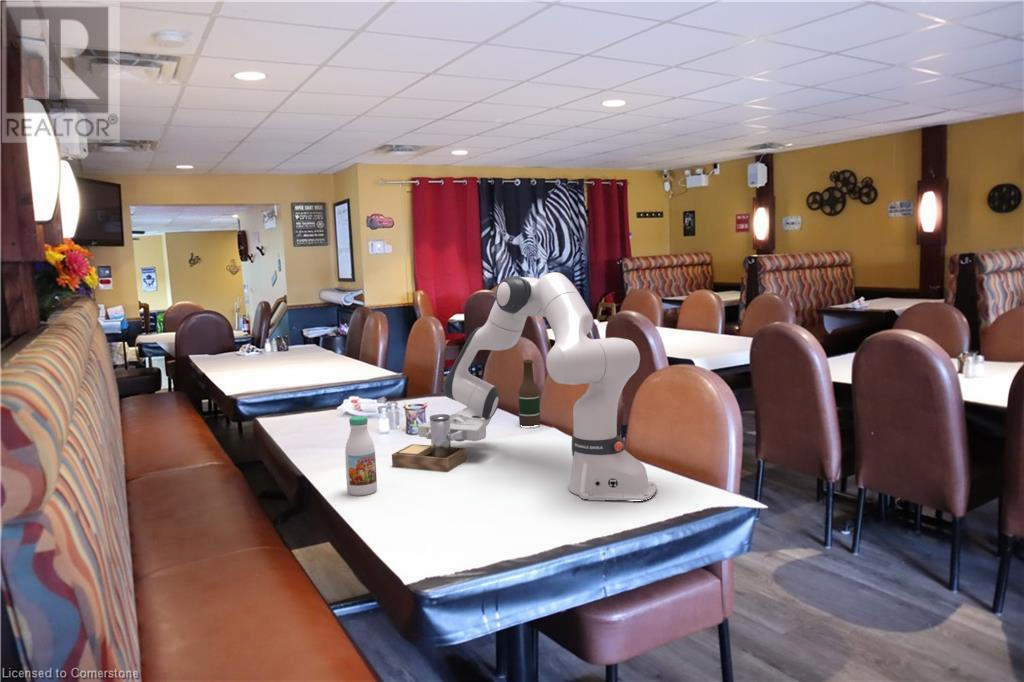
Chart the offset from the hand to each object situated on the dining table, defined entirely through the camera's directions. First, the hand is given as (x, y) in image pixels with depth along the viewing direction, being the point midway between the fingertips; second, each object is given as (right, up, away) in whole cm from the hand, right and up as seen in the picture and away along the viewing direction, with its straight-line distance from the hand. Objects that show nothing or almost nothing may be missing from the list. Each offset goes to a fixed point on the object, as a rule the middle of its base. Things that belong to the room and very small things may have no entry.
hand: (439, 437), depth 207 cm
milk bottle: (-18, -12, -18) cm, 29 cm away
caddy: (-3, -9, +3) cm, 10 cm away
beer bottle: (+27, -3, +51) cm, 58 cm away
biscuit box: (-7, -8, +5) cm, 12 cm away
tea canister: (+1, -6, +2) cm, 7 cm away
